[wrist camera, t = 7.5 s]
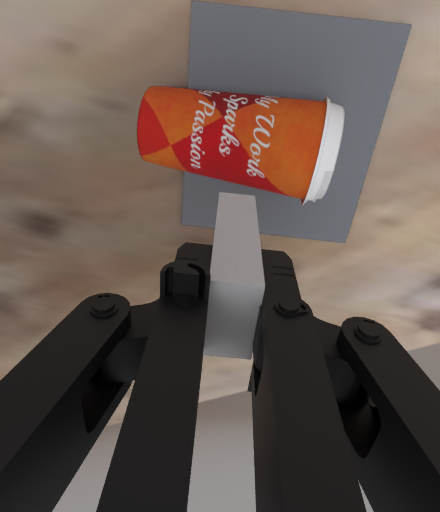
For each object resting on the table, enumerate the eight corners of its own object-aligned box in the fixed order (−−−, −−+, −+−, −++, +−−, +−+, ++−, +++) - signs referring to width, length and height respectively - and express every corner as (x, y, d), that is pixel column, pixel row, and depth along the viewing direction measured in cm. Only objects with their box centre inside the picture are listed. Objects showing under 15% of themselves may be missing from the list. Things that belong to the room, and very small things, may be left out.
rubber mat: (182, 222, 36) (181, 224, 36) (192, 1, 27) (191, 0, 27) (344, 240, 36) (345, 243, 36) (409, 24, 27) (411, 24, 26)
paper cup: (147, 45, 25) (354, 76, 24) (170, 104, 33) (328, 129, 31) (122, 154, 24) (333, 191, 23) (151, 188, 32) (312, 217, 31)
